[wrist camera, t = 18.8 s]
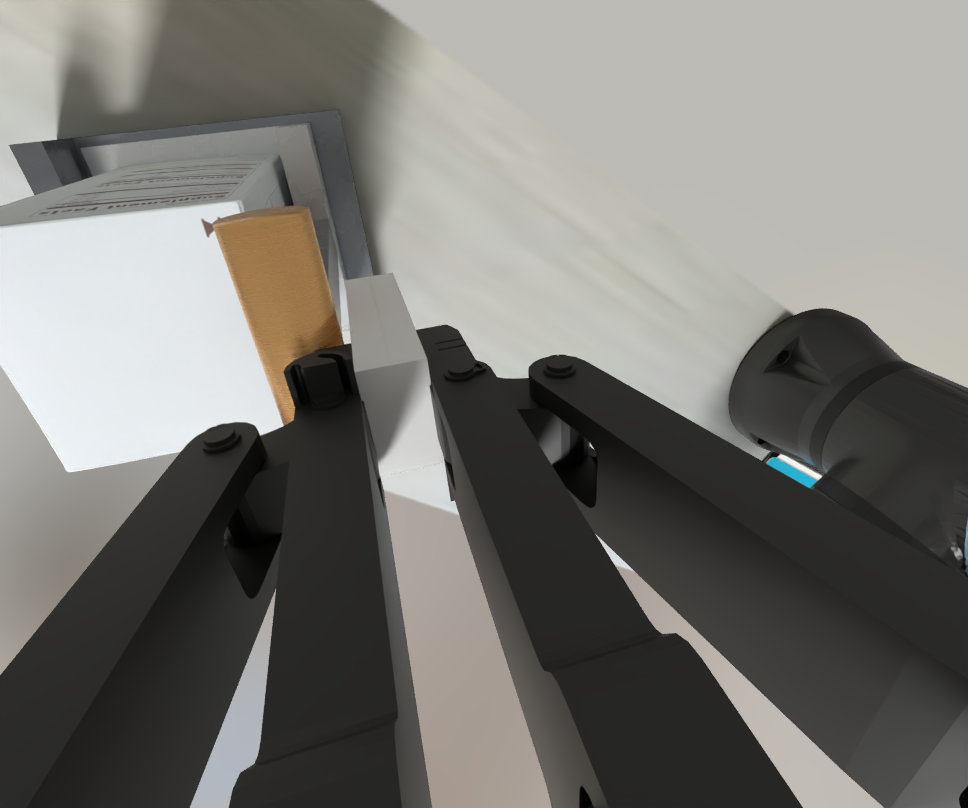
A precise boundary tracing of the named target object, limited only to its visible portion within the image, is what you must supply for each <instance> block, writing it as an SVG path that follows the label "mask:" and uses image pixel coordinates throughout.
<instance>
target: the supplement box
mask: <svg viewBox="0 0 968 808" xmlns="http://www.w3.org/2000/svg"><path fill="white" fill-rule="evenodd" d="M283 206H293V203H292V199H291V195H290V191H289V187H288V183H287V179H286V175H285V171H284V167H283V164H282V160H281V158H280V156H279V155H277V154H266V155H247V156H232V157H219V158H207V159H196V160H183V161H173V162H163V163H153V164H144V165H135V166H129V167H123V168H118V169H114V170H112V171H109V172H106V173H103V174H100V175H96V176H93V177H90V178H87V179H84V180H81V181H78V182H75V183H72V184H69V185H65V186H62V187H59V188H56V189H53V190H50V191H47V192H44V193H40V194H37V195H34V196H31V197H28V198H25V199H22V200H19V201H16V202H13V203H10V204H6V205H3V206H0V364H1V366H2V368H3V369H4V371H5V372H6V374H7V376H8V377H9V379H10V380H11V382H12V384H13V385H14V387H15V388H16V389H17V391H18V393H19V394H20V396H21V398H22V399H23V401H24V402H25V404H26V405H27V407H28V409H29V410H30V412H31V414H32V415H33V416H34V418H35V420H36V421H37V423H38V424H39V426H40V428H41V429H42V431H43V433H44V434H45V436H46V437H47V439H48V441H49V442H50V444H51V446H52V447H53V449H54V451H55V452H56V454H57V456H58V457H59V459H60V460H61V462H62V464H63V465H64V467H65V469H66V471H67V472H75V471H81V470H87V469H92V468H97V467H103V466H109V465H115V464H119V463H125V462H130V461H135V460H140V459H145V458H150V457H155V456H160V455H165V454H171V453H176V452H181V451H182V450H183V449H184V447H185V446H186V445H187V444H188V443H189V442H190V441H191V440H192V439H193V438H195V437H196V436H197V435H199V434H201V433H203V432H204V431H206V430H207V429H209V428H211V427H213V426H215V427H216V425H220V424H224V423H226V424H227V423H233V422H247V423H250V424H252V425H255V426H256V428H257V430H258V432H259V434H260V435H263V434H266V433H268V432H271V431H274V430H276V429H278V428H280V427H283V423H282V420H281V417H280V414H279V411H278V409H277V406H276V403H275V400H274V397H273V395H272V392H271V389H270V386H269V383H268V380H267V378H266V375H265V372H264V369H263V366H262V364H261V361H260V358H259V355H258V352H257V349H256V347H255V344H254V341H253V338H252V335H251V333H250V330H249V327H248V324H247V321H246V318H245V316H244V313H243V310H242V307H241V304H240V302H239V299H238V296H237V293H236V290H235V288H234V285H233V282H232V279H231V276H230V273H229V271H228V268H227V265H226V262H225V259H224V257H223V254H222V251H221V248H220V245H219V242H218V240H217V237H216V234H215V231H214V228H213V226H212V223H213V222H214V221H216V220H218V219H221V218H224V217H227V216H230V215H234V214H238V213H243V212H248V211H253V210H259V209H265V208H273V207H283Z"/></svg>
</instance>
